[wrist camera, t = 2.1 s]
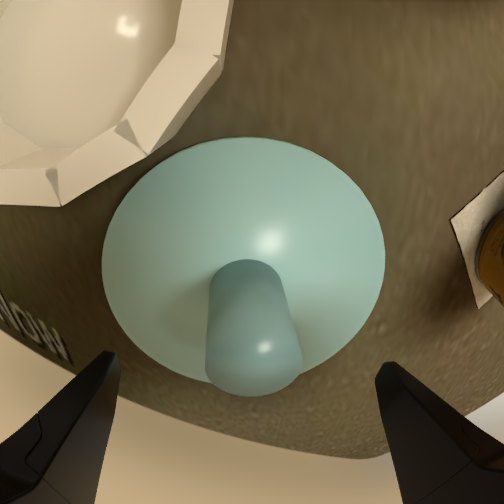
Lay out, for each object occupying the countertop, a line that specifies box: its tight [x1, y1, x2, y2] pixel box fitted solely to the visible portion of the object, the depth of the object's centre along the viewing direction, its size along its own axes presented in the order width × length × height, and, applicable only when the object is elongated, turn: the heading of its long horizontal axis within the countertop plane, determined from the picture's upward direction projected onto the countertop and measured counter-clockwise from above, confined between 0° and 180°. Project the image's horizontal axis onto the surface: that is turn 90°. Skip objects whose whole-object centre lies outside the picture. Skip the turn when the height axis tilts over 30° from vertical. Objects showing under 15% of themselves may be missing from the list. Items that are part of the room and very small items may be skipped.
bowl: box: [0, 0, 234, 207], centre depth 7 cm, size 12×12×4 cm
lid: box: [102, 136, 385, 397], centre depth 12 cm, size 13×13×5 cm
